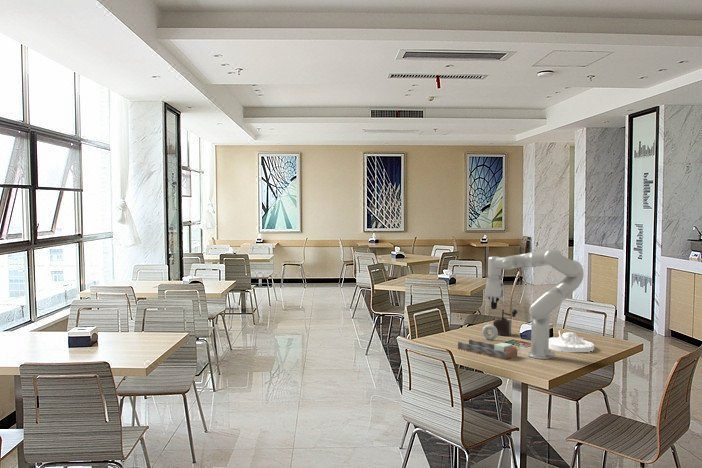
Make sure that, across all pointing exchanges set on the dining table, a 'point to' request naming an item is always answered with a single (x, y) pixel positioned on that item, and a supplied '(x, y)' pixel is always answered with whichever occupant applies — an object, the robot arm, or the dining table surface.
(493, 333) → the donut
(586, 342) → the cake
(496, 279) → the robot arm
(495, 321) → the brown coffee grinder
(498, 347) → the sliding block
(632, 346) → the dining table surface
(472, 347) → the track
